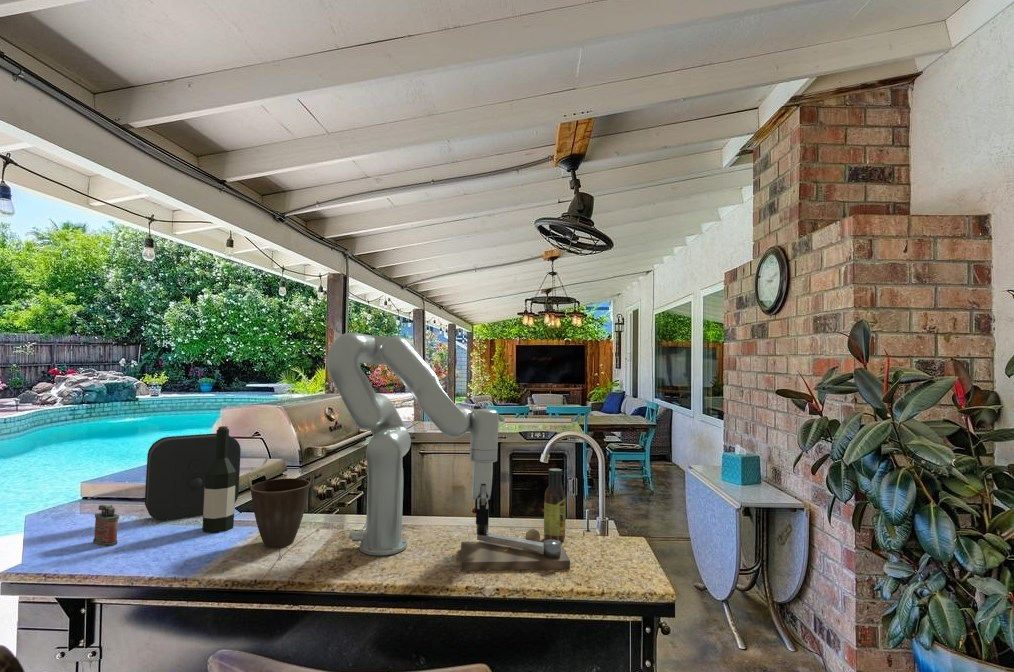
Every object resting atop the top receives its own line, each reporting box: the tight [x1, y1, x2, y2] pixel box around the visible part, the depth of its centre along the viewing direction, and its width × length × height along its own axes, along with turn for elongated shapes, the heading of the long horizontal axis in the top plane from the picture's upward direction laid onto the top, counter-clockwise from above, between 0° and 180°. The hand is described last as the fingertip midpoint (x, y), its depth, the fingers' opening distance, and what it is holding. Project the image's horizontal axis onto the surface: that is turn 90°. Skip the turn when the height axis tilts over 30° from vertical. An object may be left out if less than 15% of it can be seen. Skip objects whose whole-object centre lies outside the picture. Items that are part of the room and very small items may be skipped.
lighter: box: [92, 504, 120, 548], centre depth 135 cm, size 8×3×10 cm, turn 65°
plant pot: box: [250, 477, 311, 549], centre depth 137 cm, size 15×15×16 cm
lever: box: [476, 504, 562, 558], centre depth 130 cm, size 24×4×10 cm, turn 65°
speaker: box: [144, 432, 242, 522], centre depth 161 cm, size 25×9×25 cm, turn 131°
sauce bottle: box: [543, 467, 567, 542], centre depth 145 cm, size 7×6×20 cm
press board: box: [460, 528, 571, 572], centre depth 129 cm, size 27×14×6 cm, turn 95°
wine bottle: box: [201, 425, 236, 534], centre depth 148 cm, size 8×8×30 cm
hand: (481, 518), depth 135 cm, fingers open, 9 cm apart
